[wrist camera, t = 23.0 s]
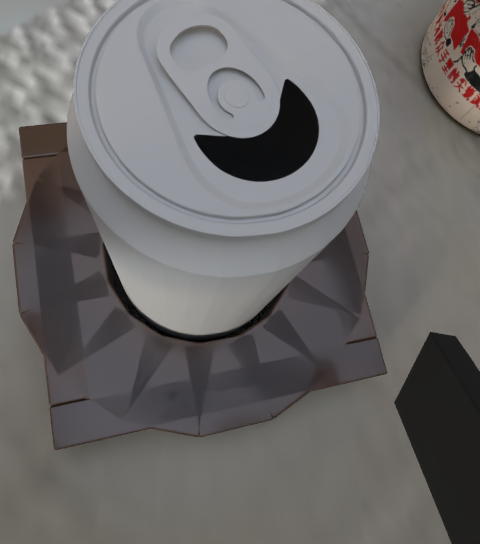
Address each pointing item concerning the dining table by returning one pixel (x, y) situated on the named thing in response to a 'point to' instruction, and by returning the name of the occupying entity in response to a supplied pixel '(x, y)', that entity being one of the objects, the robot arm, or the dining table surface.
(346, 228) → the socket pad
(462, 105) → the teacup with lid
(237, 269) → the beverage can
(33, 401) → the dining table surface
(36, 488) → the dining table surface
